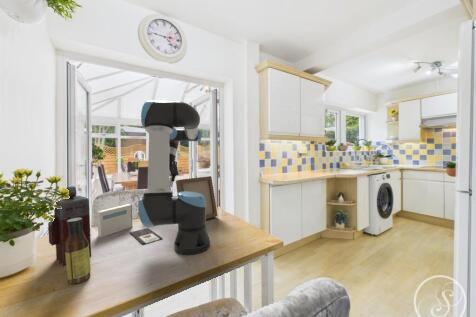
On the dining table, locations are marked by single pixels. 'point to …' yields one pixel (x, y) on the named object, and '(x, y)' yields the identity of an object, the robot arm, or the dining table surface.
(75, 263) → the sauce bottle
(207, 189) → the photo frame
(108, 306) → the dining table surface
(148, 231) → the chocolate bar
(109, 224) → the white slotted box
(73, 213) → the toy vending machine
